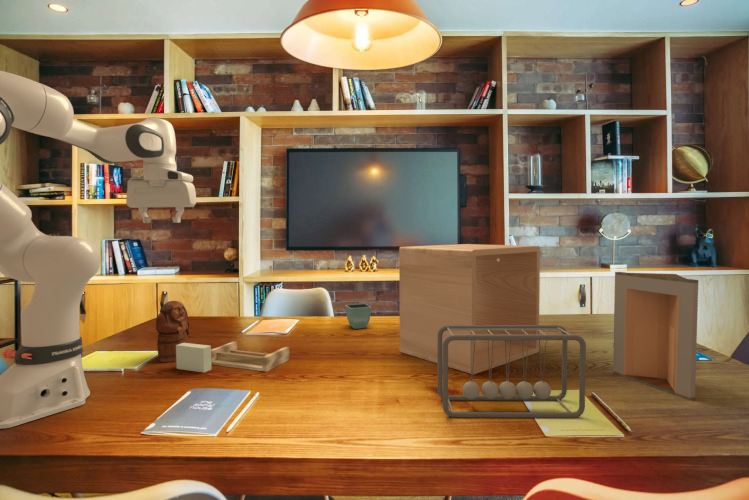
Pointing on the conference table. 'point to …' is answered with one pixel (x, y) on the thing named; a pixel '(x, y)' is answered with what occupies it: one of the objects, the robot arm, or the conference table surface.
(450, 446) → the conference table surface
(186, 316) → the wooden figurine
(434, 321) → the storage cube
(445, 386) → the newton's cradle
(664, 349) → the cabinet
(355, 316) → the flower pot
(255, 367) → the track frame
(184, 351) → the cream rectangular block
